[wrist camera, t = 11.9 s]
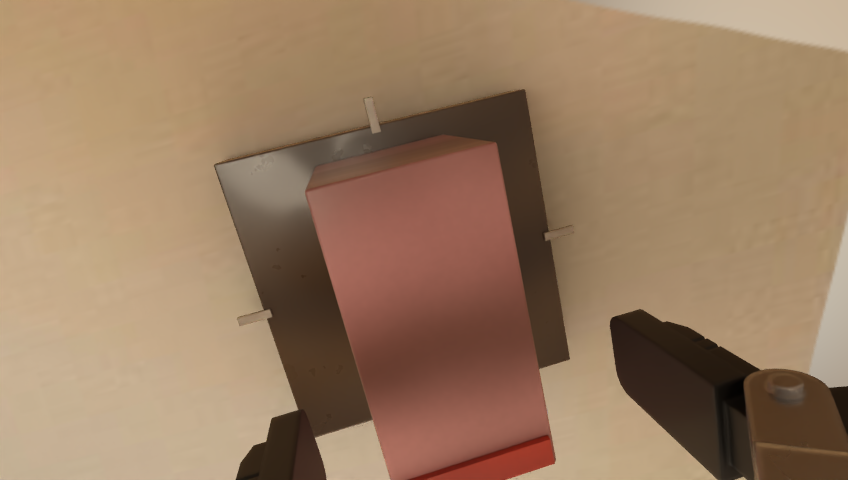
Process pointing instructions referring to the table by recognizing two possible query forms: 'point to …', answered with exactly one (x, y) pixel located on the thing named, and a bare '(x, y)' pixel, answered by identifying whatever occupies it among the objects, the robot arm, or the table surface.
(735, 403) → the robot arm
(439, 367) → the pink rectangular block
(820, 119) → the table surface
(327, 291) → the brown square platform
